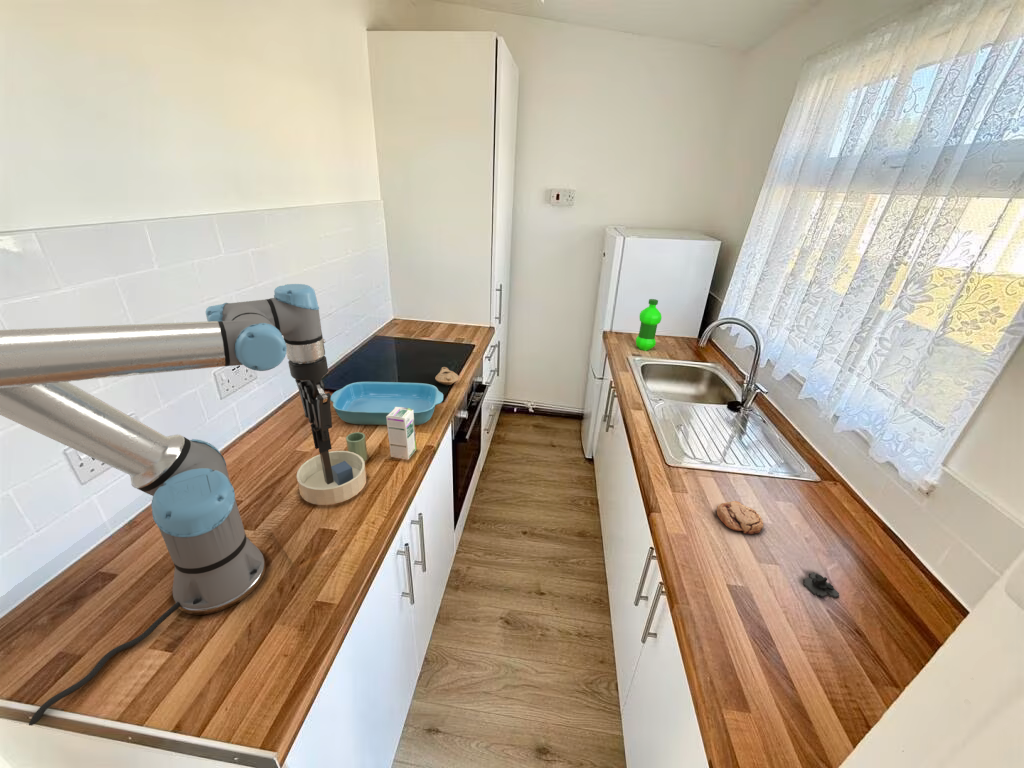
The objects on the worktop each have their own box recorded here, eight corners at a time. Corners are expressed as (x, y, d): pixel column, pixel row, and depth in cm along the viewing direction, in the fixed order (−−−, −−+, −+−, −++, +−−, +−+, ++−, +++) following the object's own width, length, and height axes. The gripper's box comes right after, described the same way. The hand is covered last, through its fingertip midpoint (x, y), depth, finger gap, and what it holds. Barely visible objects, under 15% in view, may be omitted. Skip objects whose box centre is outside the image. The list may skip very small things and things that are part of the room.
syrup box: (409, 462, 123) (405, 418, 117) (389, 458, 124) (385, 415, 118) (416, 451, 129) (414, 408, 122) (398, 448, 130) (394, 405, 123)
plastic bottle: (630, 345, 222) (639, 297, 211) (650, 345, 223) (659, 297, 212) (637, 352, 213) (647, 302, 202) (658, 352, 214) (668, 303, 203)
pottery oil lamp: (454, 373, 179) (460, 361, 174) (454, 394, 170) (460, 382, 166) (433, 367, 175) (439, 355, 171) (432, 388, 167) (438, 376, 163)
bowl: (316, 517, 102) (313, 499, 100) (290, 484, 112) (286, 467, 110) (378, 487, 113) (376, 470, 111) (348, 459, 123) (346, 443, 121)
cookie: (764, 540, 103) (768, 530, 101) (717, 527, 106) (720, 517, 105) (758, 513, 111) (762, 504, 110) (714, 501, 114) (717, 493, 113)
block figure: (800, 570, 92) (820, 565, 94) (796, 578, 93) (816, 572, 95) (825, 594, 87) (846, 588, 89) (821, 601, 88) (841, 595, 90)
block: (339, 486, 111) (337, 473, 110) (332, 479, 114) (330, 466, 112) (353, 479, 114) (352, 467, 112) (346, 472, 117) (344, 460, 115)
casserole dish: (445, 399, 159) (445, 381, 156) (441, 431, 139) (440, 412, 136) (343, 397, 156) (341, 380, 153) (323, 430, 136) (320, 410, 133)
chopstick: (327, 484, 107) (316, 422, 99) (324, 481, 108) (313, 419, 100) (333, 481, 108) (323, 420, 100) (331, 478, 109) (320, 417, 101)
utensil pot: (354, 468, 120) (351, 444, 116) (346, 460, 123) (342, 436, 119) (371, 461, 123) (368, 437, 120) (362, 453, 126) (359, 430, 123)
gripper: (339, 363, 91) (352, 455, 101) (310, 344, 100) (325, 430, 110) (303, 373, 86) (321, 468, 96) (276, 351, 95) (295, 441, 105)
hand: (323, 448), depth 103 cm, fingers closed on chopstick, 2 cm apart
